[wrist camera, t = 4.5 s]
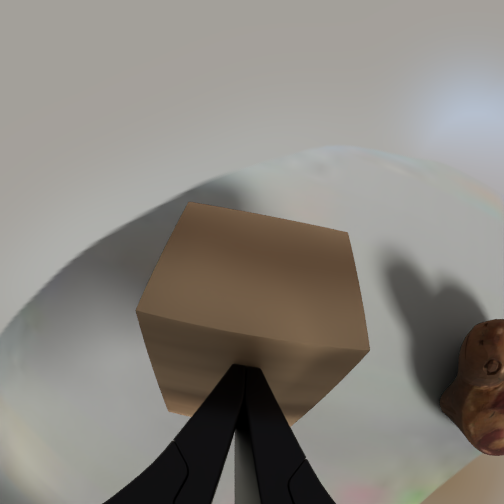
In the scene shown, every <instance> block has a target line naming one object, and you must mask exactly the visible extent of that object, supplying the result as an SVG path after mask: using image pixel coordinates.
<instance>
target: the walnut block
mask: <svg viewBox="0 0 504 504" xmlns="http://www.w3.org/2000/svg"><path fill="white" fill-rule="evenodd" d="M136 314H137V317H138V321H139V325H140V328H141V332H142V335H143V339H144V342H145V345H146V349H147V352H148V355H149V358H150V361H151V364H152V367H153V370H154V373H155V376H156V379H157V382H158V385H159V388H160V390H161V393H162V396H163V398H164V401H165V404H166V406H167V409H168V411H169V412H173V413H177V414H181V415H185V416H190V417H192V416H193V414H194V413H195V412H196V411H197V409H198V408H199V407H200V405H201V404H202V403H203V402H204V400H205V399H206V398H207V396H208V395H209V394H210V393H211V391H212V390H213V389H214V387H215V386H216V385H217V383H218V382H219V381H220V379H221V378H222V377H223V375H224V374H225V373H226V371H227V370H228V369H229V367H230V366H231V365H232V364H240V365H245V366H246V368H247V367H248V366H252V367H258V368H260V369H261V370H262V372H263V374H264V376H265V378H266V380H267V382H268V384H269V386H270V388H271V390H272V392H273V394H274V396H275V398H276V400H277V402H278V404H279V406H280V408H281V410H282V412H283V414H284V416H285V418H286V420H287V422H288V424H289V426H290V427H291V426H292V425H293V424H294V423H295V422H297V421H298V420H299V419H300V418H301V417H302V416H304V415H305V414H306V413H307V412H308V411H309V410H310V409H311V408H313V407H314V406H315V405H316V404H317V403H318V402H319V401H320V400H321V399H322V398H324V397H325V396H326V395H327V394H328V393H329V392H330V391H331V390H332V389H333V388H334V387H335V386H336V385H337V384H338V383H339V382H340V381H341V380H342V379H343V378H344V377H345V376H346V375H347V374H348V373H349V372H350V371H351V370H352V369H353V368H354V367H355V366H356V365H357V364H358V363H359V362H360V361H361V360H362V359H363V358H364V356H365V355H366V354H367V353H368V352H369V351H370V347H369V340H368V333H367V326H366V320H365V314H364V308H363V302H362V297H361V292H360V286H359V281H358V276H357V271H356V267H355V262H354V257H353V253H352V248H351V244H350V240H349V235H348V232H343V231H338V230H334V229H329V228H325V227H320V226H315V225H310V224H306V223H301V222H296V221H291V220H286V219H281V218H276V217H271V216H266V215H260V214H255V213H250V212H245V211H239V210H234V209H228V208H223V207H217V206H211V205H205V204H200V203H194V202H188V204H187V206H186V208H185V210H184V211H183V213H182V215H181V217H180V219H179V221H178V223H177V225H176V227H175V229H174V231H173V232H172V234H171V236H170V238H169V240H168V242H167V244H166V246H165V248H164V250H163V252H162V254H161V256H160V259H159V261H158V263H157V265H156V267H155V269H154V271H153V273H152V275H151V277H150V280H149V282H148V284H147V286H146V288H145V290H144V293H143V295H142V297H141V299H140V301H139V304H138V306H137V308H136Z"/></svg>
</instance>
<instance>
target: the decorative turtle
mask: <svg viewBox="0 0 504 504" xmlns="http://www.w3.org/2000/svg"><path fill="white" fill-rule="evenodd" d="M440 407H441V409H442V411H443V413H445V414H446V415H447V416H448V417H449V418H450V419H451V420H452V421H453V422H454V423H455V424H456V425H457V427H458V428H459V429H460V430H461V432H462V433H463V434H464V435H465V437H466V438H467V439H468V441H469V442H470V443H471V444H472V445H473V446H474V447H475V448H476V449H478V450H479V451H481V452H482V453H484V454H487V455H494V456H500V455H504V319H494V320H490V321H486V322H483V323H479V324H477V325H475V326H474V327H473V329H472V330H471V331H470V332H469V333H468V335H467V336H466V337H465V339H464V342H463V344H462V346H461V349H460V354H459V362H458V374H457V377H456V379H455V380H454V381H453V383H452V384H451V385H450V386H449V387H448V388H447V389H446V390H445V391H444V393H443V394H442V396H441V398H440Z"/></svg>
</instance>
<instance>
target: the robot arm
mask: <svg viewBox="0 0 504 504" xmlns="http://www.w3.org/2000/svg"><path fill="white" fill-rule="evenodd" d="M234 432H235V504H336V503H335V502H334V501H333V499H332V498H331V497H330V495H329V494H328V492H327V491H326V490H325V488H324V487H323V485H322V484H321V482H320V481H319V479H318V477H317V476H316V474H315V472H314V471H313V469H312V467H311V465H310V463H309V462H308V460H307V459H305V458H306V456H305V454H304V452H303V451H302V449H301V447H300V445H299V443H298V441H297V439H296V437H295V435H294V433H293V431H292V430H291V428H290V426H289V424H288V422H287V420H286V418H285V416H284V414H283V412H282V410H281V408H280V406H279V404H278V402H277V400H276V398H275V396H274V394H273V392H272V390H271V388H270V386H269V384H268V382H267V380H266V378H265V376H264V374H263V372H262V370H261V369H260V368H258V367H252V366H248V367H247V368H246V366H245V365H240V364H232V365H231V366H230V367H229V369H228V370H227V371H226V373H225V374H224V375H223V377H222V378H221V379H220V381H219V382H218V383H217V385H216V386H215V387H214V389H213V390H212V391H211V393H210V394H209V395H208V396H207V398H206V399H205V400H204V402H203V403H202V404H201V405H200V407H199V408H198V409H197V411H196V412H195V413H194V414H193V416H192V417H191V418H190V419H189V421H188V422H187V423H186V424H185V426H184V427H183V428H182V429H181V431H180V432H179V433H178V434H177V436H176V437H175V438H174V441H171V443H170V444H169V445H168V446H167V447H166V449H165V450H164V451H163V452H162V453H161V454H160V455H159V456H158V458H157V459H156V460H155V461H154V462H153V463H152V464H151V465H150V466H149V467H148V468H146V469H145V470H144V471H143V472H142V473H141V474H140V475H139V476H137V477H136V478H135V479H134V480H133V481H131V482H130V483H129V484H128V485H126V486H125V487H124V488H123V489H121V490H120V491H119V492H118V493H116V494H115V495H114V496H113V497H111V498H110V499H109V500H107V501H106V502H104V503H103V504H212V502H213V498H214V495H215V492H216V489H217V486H218V483H219V480H220V477H221V474H222V471H223V468H224V464H225V461H226V458H227V455H228V452H229V448H230V445H231V442H232V439H233V435H234Z"/></svg>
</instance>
